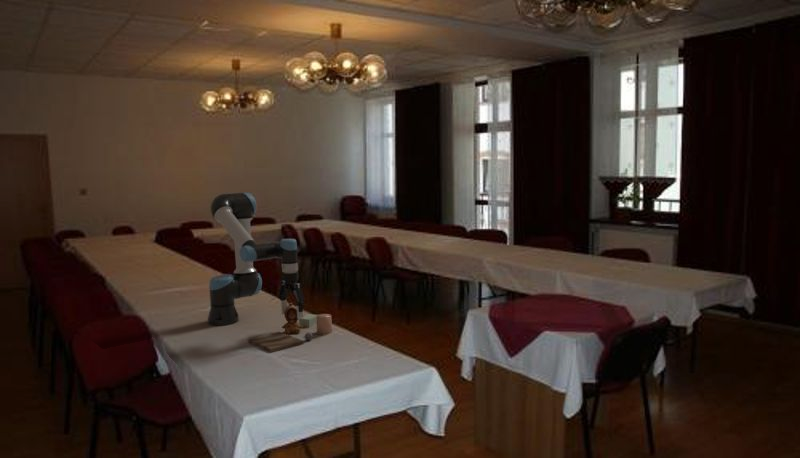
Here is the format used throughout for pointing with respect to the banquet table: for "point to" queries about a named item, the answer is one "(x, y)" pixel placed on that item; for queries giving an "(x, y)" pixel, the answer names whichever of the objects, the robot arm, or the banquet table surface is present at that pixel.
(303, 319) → the block
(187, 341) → the banquet table surface
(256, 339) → the board
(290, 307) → the figurine
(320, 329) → the brown rounded cylinder
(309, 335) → the ball
